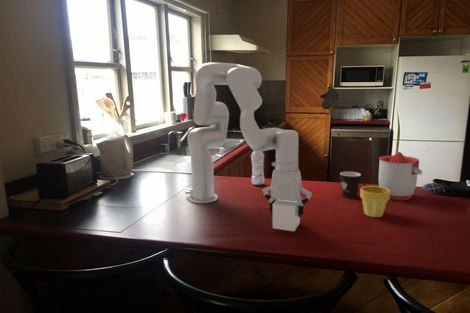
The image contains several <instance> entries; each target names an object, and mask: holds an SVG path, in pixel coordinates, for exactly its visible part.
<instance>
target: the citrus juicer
mask: <svg viewBox="0 0 470 313" xmlns="http://www.w3.org/2000/svg"><path fill="white" fill-rule="evenodd" d="M378 160H379V165H378V187H383V188H387V189H389V190H390V198H389V200H395V201H399V202H403V201H407V200H411V199H412V197H413V195H414V193H415V190H416V186H417V181H418V175H419V176H421V175H423V170H422V169H420V168H419V167H420V159H418V158H416V157H413V156H405V155H404V154H403V153H402V152H400V151H397V152H396V153H395V154H393V155H382V156H379V157H378Z"/></svg>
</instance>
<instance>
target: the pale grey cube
mask: <svg viewBox="0 0 470 313" xmlns="http://www.w3.org/2000/svg"><path fill="white" fill-rule="evenodd" d="M274 201H275V202H274V203H273V214H272V229H274V230H282V231H289V232H295V231H296V230H297V228H298V226H299V225H300V220H301V217H298V206H299V203H298V202H297V201H288V200H279V199H275V200H274Z"/></svg>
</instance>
